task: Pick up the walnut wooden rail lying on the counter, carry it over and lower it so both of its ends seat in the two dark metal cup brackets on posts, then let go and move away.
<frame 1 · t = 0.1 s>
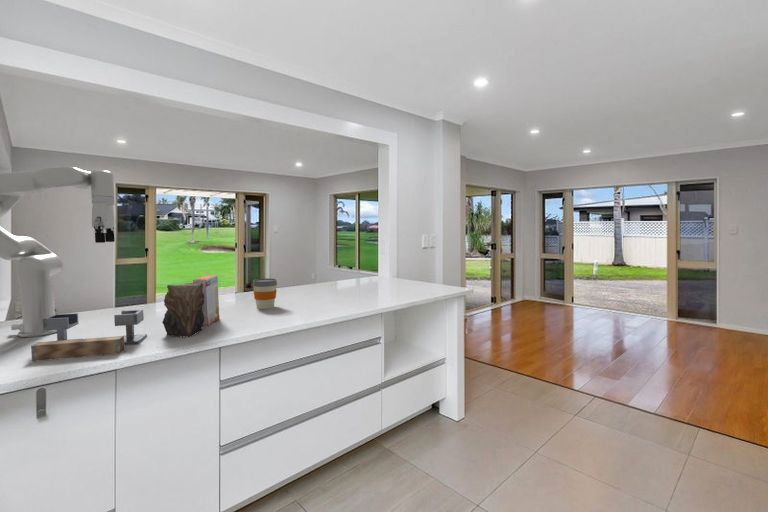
hand: (105, 242, 152), 37 cm above the countertop, tool pointing down, fingers open, 9 cm apart
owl: (185, 334, 147), on the countertop
reusable coffee cup: (265, 307, 198), on the countertop
cracker box: (207, 323, 164), on the countertop
bracket stand: (97, 343, 134), on the countertop
rail: (80, 355, 122), on the countertop
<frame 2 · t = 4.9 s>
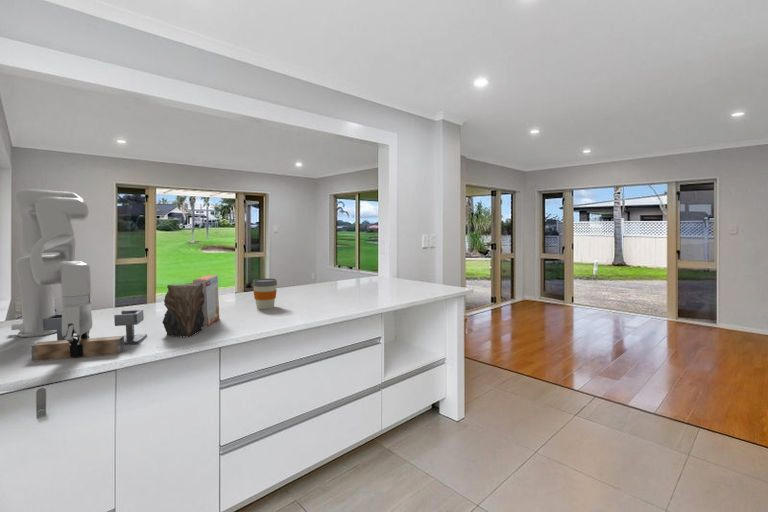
hand: (80, 353, 122), 1 cm above the countertop, tool pointing down, fingers closed on rail, 4 cm apart
rail: (80, 355, 122), on the countertop, touching gripper
everything else where it was.
when the fingers open (10 cm above the countertop, at t = 9.6 s): rail drops 1 cm, resting on bracket stand.
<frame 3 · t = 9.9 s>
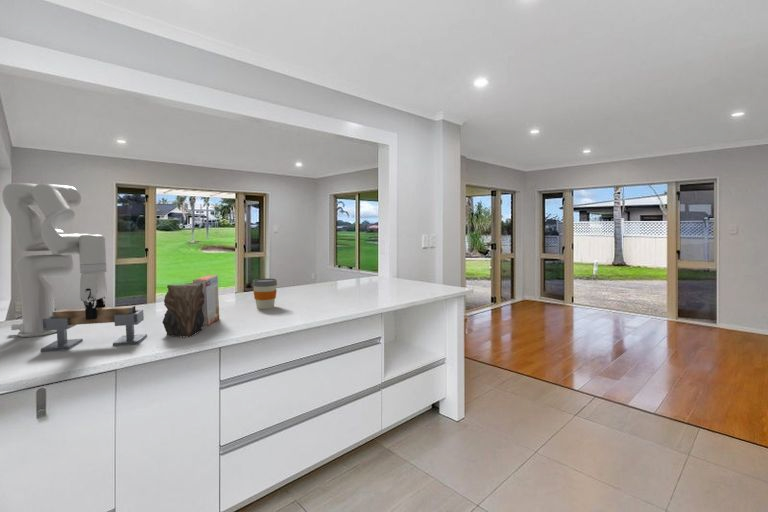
hand: (96, 316, 133), 10 cm above the countertop, tool pointing down, fingers open, 6 cm apart
rail: (96, 322, 133), point 8 cm above the countertop, touching bracket stand
everything else where it was.
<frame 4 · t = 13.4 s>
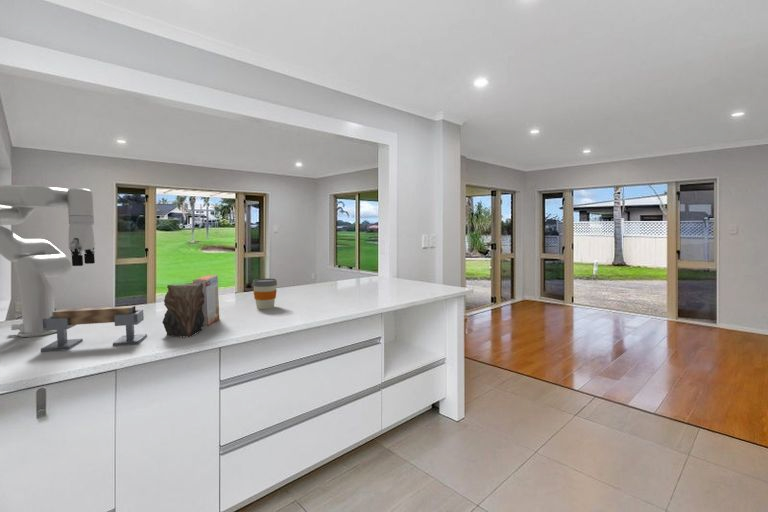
hand: (83, 264, 142), 28 cm above the countertop, tool pointing down, fingers open, 9 cm apart
nothing on the countertop moved.
at the end: rail 0.1 cm off-centre on the bracket stand, point 8.0 cm above the bracket stand's base; rail tilted 0°; the gripper is holding nothing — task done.
